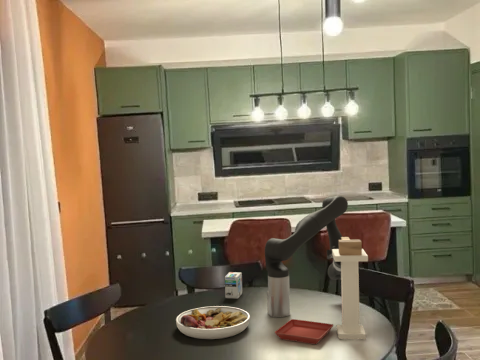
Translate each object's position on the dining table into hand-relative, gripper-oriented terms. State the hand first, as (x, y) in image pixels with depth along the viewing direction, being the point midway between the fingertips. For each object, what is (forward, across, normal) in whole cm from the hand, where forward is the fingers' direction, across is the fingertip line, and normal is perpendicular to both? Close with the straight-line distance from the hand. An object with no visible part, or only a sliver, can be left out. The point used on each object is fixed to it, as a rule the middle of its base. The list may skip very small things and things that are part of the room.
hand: (344, 248), depth 218 cm
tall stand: (+2, 0, +36) cm, 36 cm away
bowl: (-4, -55, +33) cm, 64 cm away
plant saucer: (+2, -18, +37) cm, 41 cm away
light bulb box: (-46, -52, +8) cm, 69 cm away
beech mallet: (+13, 0, +5) cm, 14 cm away
